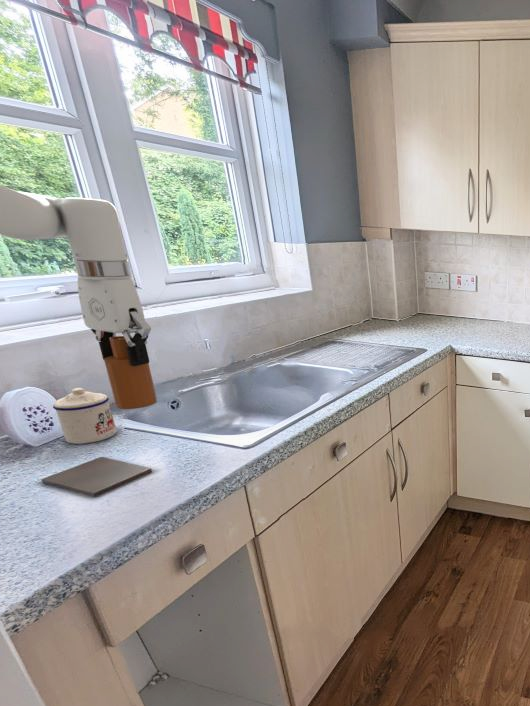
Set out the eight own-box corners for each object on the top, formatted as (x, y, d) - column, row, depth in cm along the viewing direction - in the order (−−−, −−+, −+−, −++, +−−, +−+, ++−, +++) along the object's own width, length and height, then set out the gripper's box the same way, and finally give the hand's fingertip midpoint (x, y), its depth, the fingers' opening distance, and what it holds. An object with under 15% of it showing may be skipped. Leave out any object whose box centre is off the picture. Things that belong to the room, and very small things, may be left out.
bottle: (108, 406, 92) (90, 338, 87) (142, 396, 97) (126, 332, 93) (131, 411, 90) (114, 342, 85) (164, 401, 96) (150, 336, 91)
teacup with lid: (108, 442, 102) (94, 393, 98) (56, 447, 99) (38, 397, 95) (129, 422, 113) (117, 377, 109) (82, 426, 109) (68, 380, 105)
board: (42, 482, 86) (41, 479, 86) (102, 459, 95) (101, 456, 95) (95, 497, 82) (93, 493, 82) (152, 471, 91) (151, 468, 91)
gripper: (46, 267, 83) (73, 360, 89) (115, 274, 79) (139, 372, 85) (94, 265, 90) (116, 353, 96) (159, 272, 86) (178, 363, 92)
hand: (126, 361), depth 91 cm, fingers closed on bottle, 6 cm apart
